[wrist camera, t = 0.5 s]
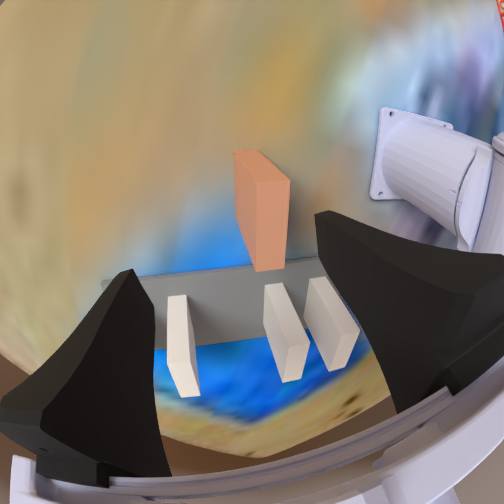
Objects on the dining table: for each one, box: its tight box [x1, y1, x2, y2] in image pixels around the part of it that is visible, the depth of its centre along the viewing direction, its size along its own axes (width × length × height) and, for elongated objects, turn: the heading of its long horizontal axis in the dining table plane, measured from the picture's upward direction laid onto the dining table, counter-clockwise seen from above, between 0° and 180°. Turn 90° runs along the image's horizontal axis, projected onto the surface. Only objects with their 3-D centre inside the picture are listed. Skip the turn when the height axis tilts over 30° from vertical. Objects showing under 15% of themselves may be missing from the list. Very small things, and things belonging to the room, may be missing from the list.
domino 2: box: [234, 150, 290, 272], centre depth 17 cm, size 2×5×7 cm, turn 0°
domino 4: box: [303, 276, 360, 371], centre depth 24 cm, size 2×5×7 cm, turn 1°
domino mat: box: [101, 256, 340, 350], centre depth 25 cm, size 22×9×1 cm, turn 90°
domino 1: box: [167, 295, 200, 397], centre depth 21 cm, size 2×5×7 cm, turn 0°
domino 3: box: [263, 283, 310, 382], centre depth 23 cm, size 2×5×7 cm, turn 0°
